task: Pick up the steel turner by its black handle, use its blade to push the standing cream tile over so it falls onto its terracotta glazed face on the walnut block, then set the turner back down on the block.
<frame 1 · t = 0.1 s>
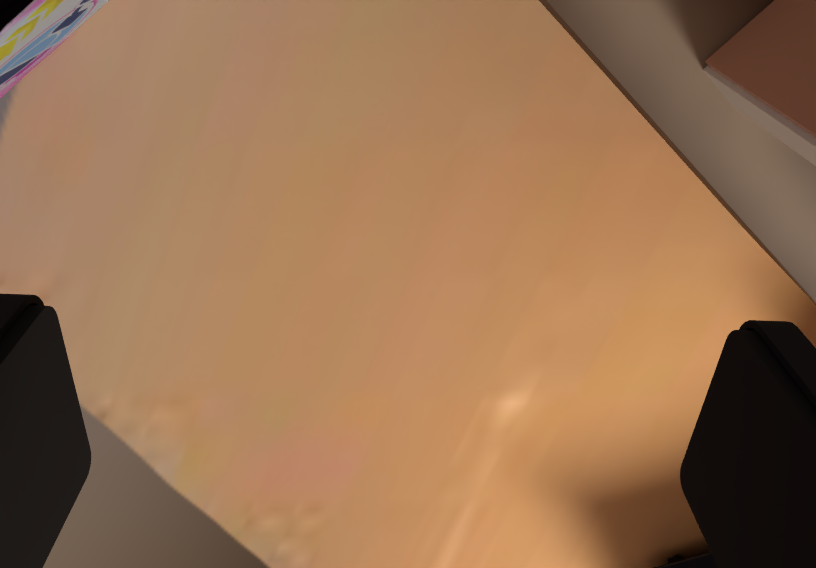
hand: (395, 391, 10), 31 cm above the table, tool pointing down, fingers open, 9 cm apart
speaker: (777, 560, 61), on the table
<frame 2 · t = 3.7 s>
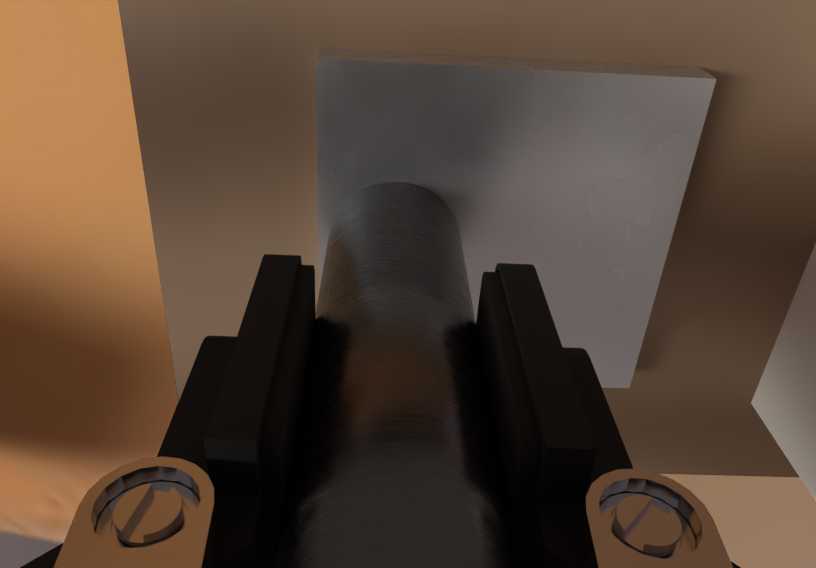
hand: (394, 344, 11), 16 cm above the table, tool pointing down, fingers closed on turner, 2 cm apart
walnut block: (643, 85, 25), on the table
turner: (490, 228, 15), point 12 cm above the table, touching gripper, walnut block
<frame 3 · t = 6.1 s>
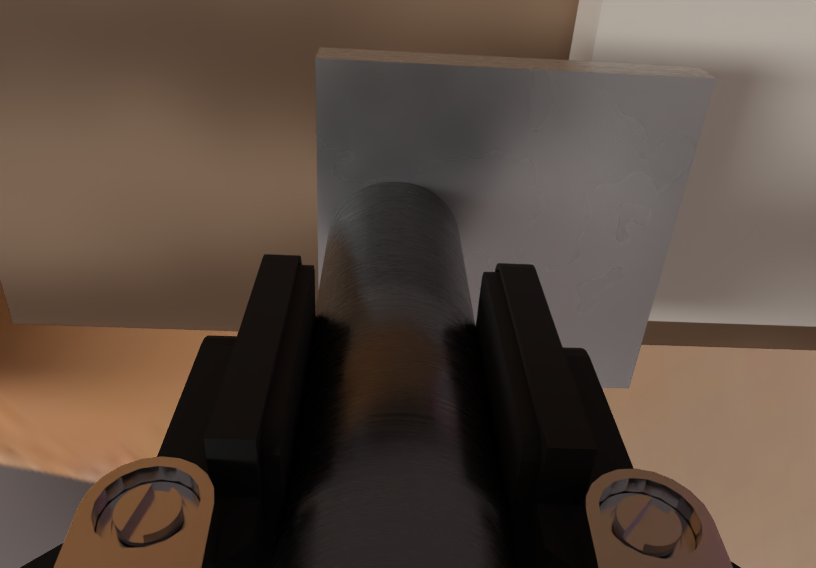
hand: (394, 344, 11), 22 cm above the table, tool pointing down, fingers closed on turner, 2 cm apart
tile: (562, 154, 18), point 13 cm above the table, tilted 90°, touching walnut block
walnut block: (442, 37, 30), on the table
turner: (489, 228, 15), point 18 cm above the table, touching gripper
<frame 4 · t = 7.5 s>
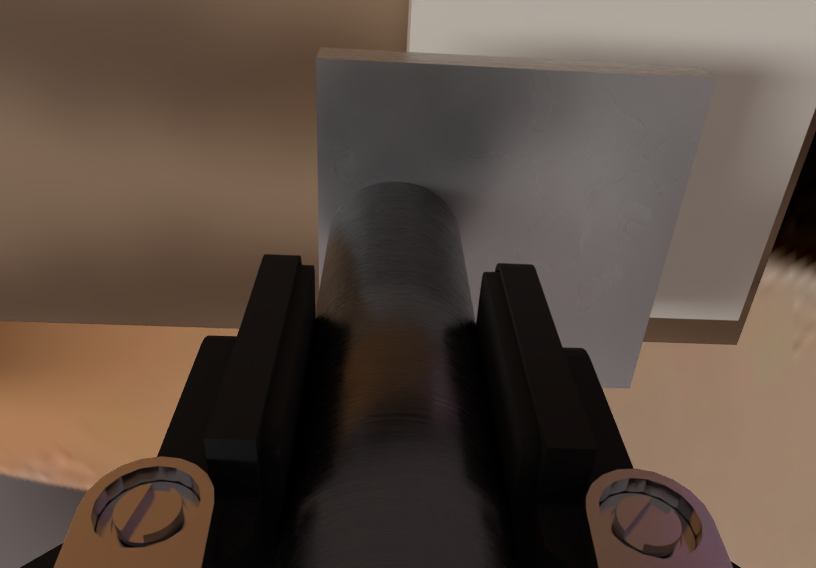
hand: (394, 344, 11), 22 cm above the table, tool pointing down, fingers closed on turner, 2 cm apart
tile: (402, 145, 18), point 13 cm above the table, tilted 90°, touching walnut block
walnut block: (344, 32, 30), on the table
turner: (490, 228, 15), point 18 cm above the table, touching gripper
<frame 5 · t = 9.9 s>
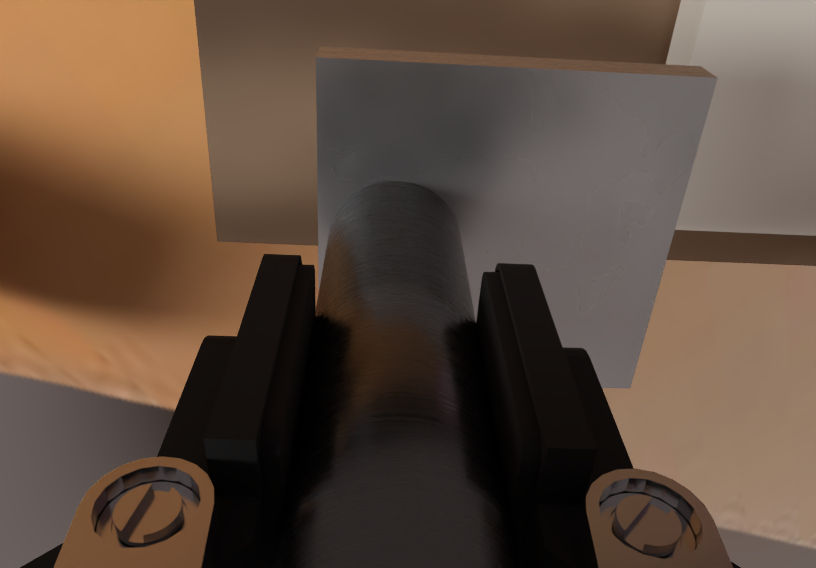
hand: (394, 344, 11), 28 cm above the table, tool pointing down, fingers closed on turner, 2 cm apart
tile: (668, 98, 24), point 13 cm above the table, tilted 90°, touching walnut block
walnut block: (536, 19, 35), on the table
turner: (490, 228, 15), point 24 cm above the table, touching gripper
when the fingers open (18 cm above the table, at t = 11.8 s): turner drops 2 cm, resting on walnut block.
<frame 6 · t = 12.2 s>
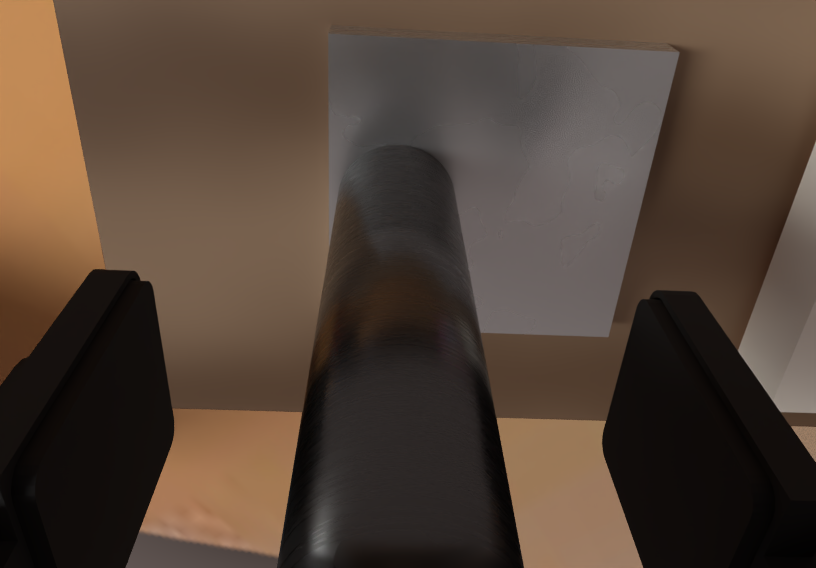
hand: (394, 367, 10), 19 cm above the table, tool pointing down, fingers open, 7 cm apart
tile: (812, 227, 16), point 13 cm above the table, tilted 90°, touching walnut block
walnut block: (576, 68, 27), on the table
turner: (482, 189, 16), point 12 cm above the table, touching walnut block
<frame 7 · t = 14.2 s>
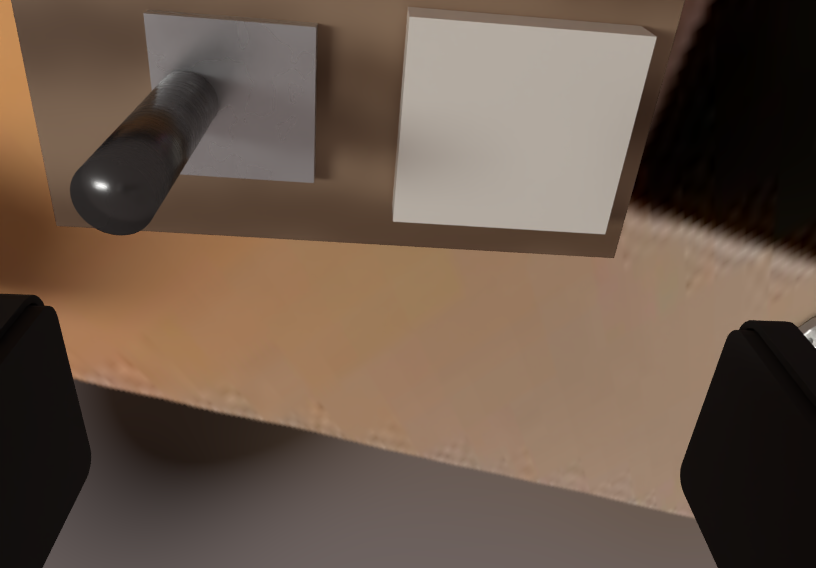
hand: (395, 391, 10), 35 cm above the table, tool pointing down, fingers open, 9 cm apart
tile: (400, 119, 31), point 13 cm above the table, tilted 90°, touching walnut block
walnut block: (356, 43, 42), on the table
turner: (237, 98, 31), point 12 cm above the table, touching walnut block
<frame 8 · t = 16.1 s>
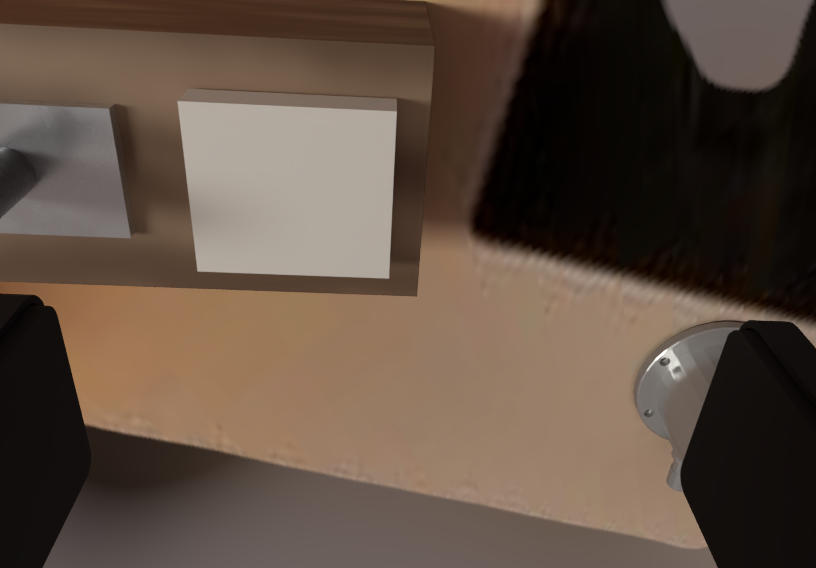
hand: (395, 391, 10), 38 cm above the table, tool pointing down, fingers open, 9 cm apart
tile: (193, 183, 35), point 13 cm above the table, tilted 90°, touching walnut block
walnut block: (207, 102, 46), on the table
turner: (56, 167, 36), point 12 cm above the table, touching walnut block
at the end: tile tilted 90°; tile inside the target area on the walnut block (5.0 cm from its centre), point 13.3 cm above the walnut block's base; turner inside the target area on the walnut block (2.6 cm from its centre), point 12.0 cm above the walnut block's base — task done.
